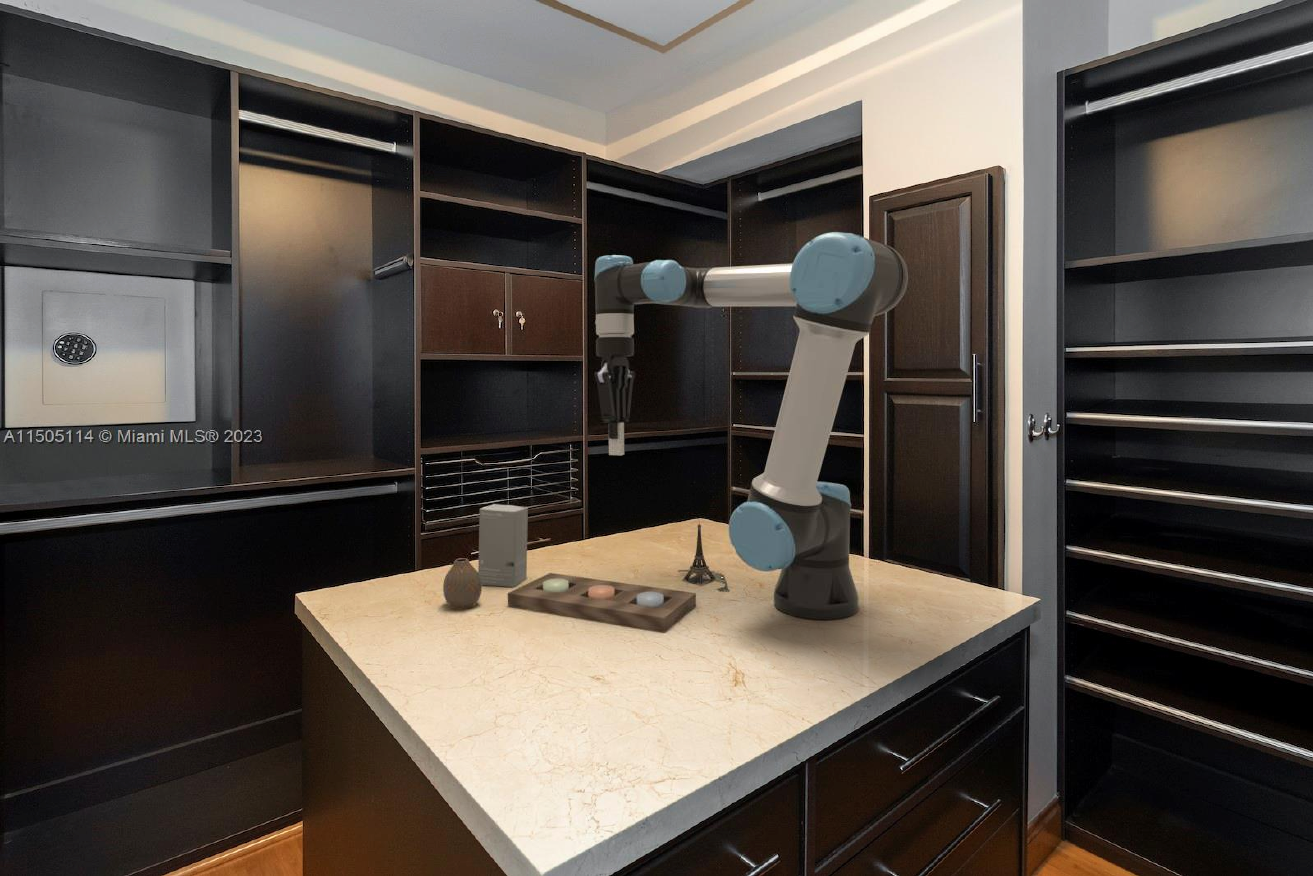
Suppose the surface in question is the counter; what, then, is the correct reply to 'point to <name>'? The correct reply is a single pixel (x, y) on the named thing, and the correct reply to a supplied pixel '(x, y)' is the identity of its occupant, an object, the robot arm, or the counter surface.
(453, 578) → the vase
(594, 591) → the button terracotta
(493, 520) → the skincare box
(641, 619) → the button board
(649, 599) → the button slate
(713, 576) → the eiffel tower figurine
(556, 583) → the button sage
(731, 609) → the counter surface
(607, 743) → the counter surface
